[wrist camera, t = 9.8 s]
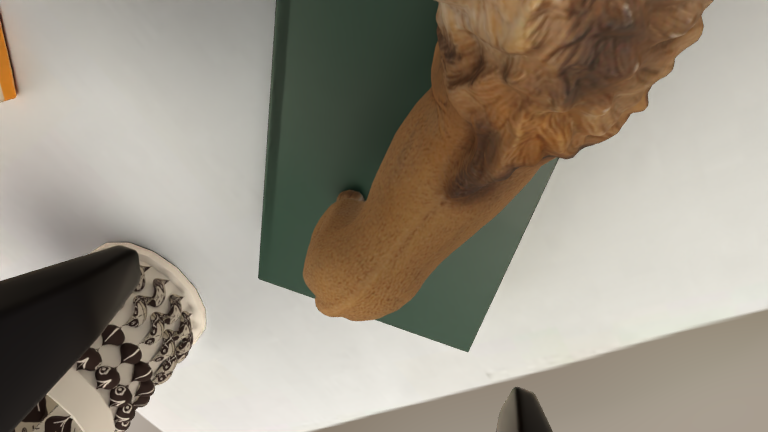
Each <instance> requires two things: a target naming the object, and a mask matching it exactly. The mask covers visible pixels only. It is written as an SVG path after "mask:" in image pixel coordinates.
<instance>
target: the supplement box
mask: <svg viewBox="0 0 768 432" xmlns="http://www.w3.org/2000/svg"><path fill="white" fill-rule="evenodd" d="M14 98H16V90H15V85H14V79H13V75H12V69H11V66H10V61H9V56H8V50H7V48H6V43H5V39H4V35H3V31H2V26H1V21H0V103H1V102H3V101H7V100H10V99H14Z"/></svg>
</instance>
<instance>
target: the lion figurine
mask: <svg viewBox="0 0 768 432" xmlns="http://www.w3.org/2000/svg"><path fill="white" fill-rule="evenodd" d="M435 1H437V2H439V5H438V9H437V13H436V22H437V24H438V25H437V37H438V42H437V44H436V47H435V52H434V57H433V63H432V68H431V83H432V87H431V88H430V89H429V90H428V91H427V93H426V94H425V95H424V96H423V97H422V98H421V99H420V100H419V101H418V102H417V103H416V105H415V106H414V107H413V109H412V110H411V112H410V113H409V114H408V116H407V117H406V119H405V120H404V121H403V123H402V124H401V126H400V127H399V129H398V130H397V132H396V133H395V135H394V137H393V140H392V142H391V144H390V146H389V148H388V150H387V152H386V154H385V157H384V159H383V161H382V163H381V165H380V167H379V170H378V172H377V174H376V176H375V179H374V181H373V183H372V186H371V189H370V192H369V195H368V198H367V200H366V201H365V200H364V198H363V196H362V194H361V193H360V192H356V191H354V190H347V191H343V192H341V193H340V194H339V195H338V197H337V200H336V202H335V203H333V204H332V205H331V206H330V207H329V208H328V209H327V210H326V211H325V213H324V214H323V215H322V217H321V218H320V220H319V221H318V223H317V225H316V226H315V228H314V231H313V233H312V237H311V241H310V244H309V247H308V251H307V255H306V259H305V264H304V269H303V278H304V281H305V283H306V285H307V286H308V288H309V289H310V290H311V291H312V293H313V294H314V295H315V296H316V298H315V303H316V307H317V308H318V310H319V311H320V312H321V313H323V314H324V315H327V316H329V317H344V318H347V319H349V320H352V321H365V320H374V319H379V318H381V317H383V316H385V315H387V314H390V313H393V312H395V311H397V310H398V309H400V308H401V307H402V306H404V305H405V304H406V303H407V302H409V301H410V300H411V299H412V298H413V297H414V296H415V295H416V293H417V292H418V291H419V289H420V288H421V286H422V284H423V283H424V281H425V280H426V279H427V278H428V276H429V275H430V274H431V273H432V272H433V271H434V270H435V269H436V267H437V266H438V265H439V264H440V263H441V262H442V261H443V260H445V259H446V258H447V257H448V256H449V255H450V254H451V253H452V252H453V251H455V250H456V249H457V248H458V247H460V246H461V245H462V244H463V243H464V242H466V241H467V240H468V239H469V238H470V237H472V236H473V235H474V234H475V233H476V232H477V231H478V230H480V229H481V228H482V227H483V226H484V225H486V224H487V223H488V222H489V221H491V220H492V219H493V218H494V217H495V216H496V215H497V214H498V213H499V212H500V211H502V210H503V209H504V208H505V207H506V205H507V204H508V203H509V202H510V201H511V200H512V199H513V198H514V197H515V196H516V195H517V194H518V193H519V192H520V191H521V190H522V189H523V187H524V186H525V185H526V184H527V183H528V182H529V181H530V180H531V179H532V177H533V176H534V175H535V174H536V172H537V171H538V170H539V168H540V167H541V166H542V165H544V164H546V163H547V162H549V161H551V160H553V159H555V158H557V157H558V158H563V159H569V158H573V157H574V156H575V155H576V154H577V153H578V152H579V151H580V150H581V149H583V148H584V147H587V146H591V145H594V144H597V143H600V142H603V141H605V140H607V139H609V138H610V137H612V136H614V135H615V134H617V133H618V132H619V130H620V129H621V127H622V125H623V124H624V123H625V122H626V121H627V119H628V117H629V116H630V114H631V113H635V112H641V111H644V110H645V109H646V108H647V106H648V92H649V90H650V88H651V86H652V85H653V84H654V83H655V82H657V81H658V80H659V79H661V78H663V77H665V76H667V75H668V74H669V73H670V72H671V71H672V69H673V67H674V62H675V61H674V59H675V57H676V56H677V55H679V54H680V53H681V52H682V51H683V50H684V49H686V48H687V47H689V46H690V45H692V44H693V43H695V42H696V41H698V39H699V38H700V36H701V34H702V31H703V27H704V26H703V21H702V17H701V15H702V13H703V11H704V10H705V9H706V8H707V7H708V6H709V5H710V4H711V3H712V2H713V0H435Z"/></svg>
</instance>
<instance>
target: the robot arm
mask: <svg viewBox="0 0 768 432" xmlns="http://www.w3.org/2000/svg"><path fill="white" fill-rule="evenodd" d="M140 279H141V271H140V263H139V255H138V253H137V251H136V250H134V249H131V248H128V247H126V246H123V245H117V246H113V247H110V248H107V249H104V250H100V251H97V252H94V253H90V254H87V255H84V256H81V257H77V258H74V259H71V260H68V261H64V262H61V263H58V264H55V265H51V266H48V267H45V268H42V269H38V270H35V271H32V272H28V273H25V274H22V275H19V276H15V277H12V278H9V279H6V280H2V281H0V432H12V431H13V430H14V429H15V428H16V427H17V426H18V425H19V423H20V422H21V421H22V420H23V419H24V418H25V417H26V416H27V415H28V414H29V413H30V412H31V410H32V409H33V408H34V407H35V406H36V405H37V404H38V403H39V402H40V401H41V400H42V399H43V397H44V396H45V395H46V394H47V393H48V392H49V391H50V390H51V389H52V388H53V387H54V386H55V384H56V383H57V382H58V381H59V380H60V379H61V378H62V377H63V376H64V375H65V374H66V373H67V371H68V370H69V369H70V368H71V367H72V366H73V365H74V364H75V363H76V362H77V361H78V360H79V358H80V357H81V356H82V355H83V354H84V353H85V352H86V351H87V350H88V349H89V348H90V346H91V345H92V344H93V343H94V342H95V341H96V340H97V339H98V337H99V336H100V335H101V334H102V332H103V331H104V330H105V329H106V327H107V326H108V325H109V323H110V322H111V321H112V319H113V318H114V317H115V315H116V314H117V313H118V311H119V310H120V309H121V307H122V306H123V305H124V303H125V302H126V301H127V299H128V298H129V297H130V295H131V294H132V293H133V291H134V290H135V289H136V287H137V286H138V284H139V282H140ZM496 432H552V429H551V427H550V425H549V423H548V421H547V418H546V417H545V414H544V412H543V410H542V408H541V406H540V404H539V401H538V399H537V397H536V396H535V394H534V393H533V392H531V391H528V390H525V389H523V388H520V387H515V388H514V389H513V390H512V391H511V393H510V395H509V396H508V398H507V400H506V401H505V403H504V405H503V406H502V408H501V411H500V414H499V417H498V423H497V430H496Z"/></svg>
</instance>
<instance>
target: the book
mask: <svg viewBox="0 0 768 432" xmlns="http://www.w3.org/2000/svg"><path fill="white" fill-rule="evenodd" d="M438 5H439V2H437V1H435V0H276V11H275V27H274V42H273V58H272V73H271V89H270V104H269V119H268V135H267V150H266V166H265V181H264V197H263V212H262V228H261V243H260V259H259V274H258V278H259V279H260V280H263V281H266V282H269V283H272V284H275V285H277V286H280V287H283V288H286V289H289V290H292V291H295V292H297V293H300V294H303V295H306V296H309V297H312V298H316V296H315V295H314V294H313V293H312V291H311V290H310V289H309V288H308V286H307V285H306V283H305V281H304V278H303V269H304V264H305V259H306V255H307V251H308V247H309V244H310V241H311V237H312V233H313V231H314V228H315V226H316V225H317V223H318V221H319V220H320V218H321V217H322V215H323V214H324V213H325V211H326V210H327V209H328V208H329V207H330V206H331V205H332V204H333V203H335V202H336V200H337V197H338V195H339V194H340V193H341V192H343V191H347V190H354V191H356V192H360V193H361V194H362V196H363V198H364V200H365V201H366V200H367V198H368V195H369V192H370V189H371V186H372V183H373V181H374V179H375V176H376V174H377V172H378V170H379V167H380V165H381V163H382V161H383V159H384V157H385V154H386V152H387V150H388V148H389V146H390V144H391V142H392V140H393V137H394V135H395V133H396V132H397V130H398V129H399V127H400V126H401V124H402V123H403V121H404V120H405V119H406V117H407V116H408V114H409V113H410V112H411V110H412V109H413V107H414V106H415V105H416V103H417V102H418V101H419V100H420V99H421V98H422V97H423V96H424V95H425V94H426V93H427V91H428V90H429V89H430V88H431V87H432V83H431V68H432V63H433V57H434V52H435V47H436V44H437V42H438V37H437V25H438V24H437V22H436V13H437V9H438ZM558 159H559V158H558V157H557V158H555V159H553V160H551V161H549V162H547V163H546V164H544V165H542V166H541V167H540V168H539V170H538V171H537V172H536V174H535V175H534V176H533V177H532V179H531V180H530V181H529V182H528V183H527V184H526V185H525V186H524V187H523V189H522V190H521V191H520V192H519V193H518V194H517V195H516V196H515V197H514V198H513V199H512V200H511V201H510V202H509V203H508V204H507V205H506V207H505V208H504V209H503V210H502V211H500V212H499V213H498V214H497V215H496V216H495V217H494V218H493V219H492V220H491V221H489V222H488V223H487V224H486V225H484V226H483V227H482V228H481V229H480V230H478V231H477V232H476V233H475V234H474V235H473V236H472V237H470V238H469V239H468V240H467V241H466V242H464V243H463V244H462V245H461V246H460V247H458V248H457V249H456V250H455V251H453V252H452V253H451V254H450V255H449V256H448V257H447V258H446V259H445V260H443V261H442V262H441V263H440V264H439V265H438V266H437V267H436V269H435V270H434V271H433V272H432V273H431V274H430V275H429V276H428V278H427V279H426V280H425V281H424V283H423V284H422V286H421V288H420V289H419V291H418V292H417V293H416V295H415V296H414V297H413V298H412V299H411V300H410V301H409V302H407V303H406V304H405V305H404V306H402V307H401V308H400V309H398V310H397V311H395V312H393V313H390V314H387V315H385V316H383V317H381V318H379V319H374V320H377V321H380V322H383V323H386V324H389V325H392V326H394V327H397V328H400V329H403V330H406V331H409V332H411V333H414V334H417V335H420V336H423V337H426V338H429V339H431V340H434V341H437V342H440V343H443V344H446V345H449V346H451V347H454V348H457V349H460V350H463V351H466V352H469V349H470V347H471V345H472V343H473V341H474V339H475V337H476V335H477V332H478V330H479V328H480V326H481V324H482V322H483V320H484V317H485V315H486V313H487V311H488V309H489V307H490V305H491V302H492V300H493V298H494V296H495V294H496V292H497V290H498V287H499V285H500V283H501V281H502V279H503V277H504V275H505V273H506V270H507V268H508V266H509V264H510V262H511V260H512V258H513V255H514V253H515V251H516V249H517V247H518V245H519V243H520V240H521V238H522V236H523V234H524V232H525V230H526V228H527V225H528V223H529V221H530V219H531V217H532V215H533V213H534V210H535V208H536V206H537V204H538V202H539V200H540V198H541V196H542V193H543V191H544V189H545V187H546V185H547V183H548V181H549V178H550V176H551V174H552V172H553V170H554V168H555V166H556V163H557V161H558Z"/></svg>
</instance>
